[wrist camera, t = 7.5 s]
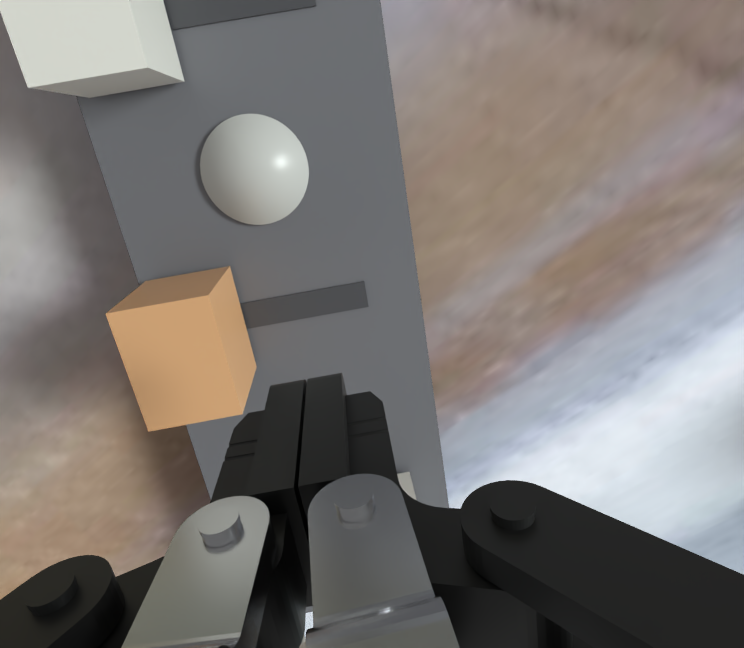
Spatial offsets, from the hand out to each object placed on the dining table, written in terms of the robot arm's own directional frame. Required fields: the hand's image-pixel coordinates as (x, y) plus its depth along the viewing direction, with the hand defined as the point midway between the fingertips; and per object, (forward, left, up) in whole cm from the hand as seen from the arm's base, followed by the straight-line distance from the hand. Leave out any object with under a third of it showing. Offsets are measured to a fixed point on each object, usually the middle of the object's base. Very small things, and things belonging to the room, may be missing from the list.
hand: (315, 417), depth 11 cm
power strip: (-5, -1, -12) cm, 13 cm away
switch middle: (0, -4, -9) cm, 10 cm away
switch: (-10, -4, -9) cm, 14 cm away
